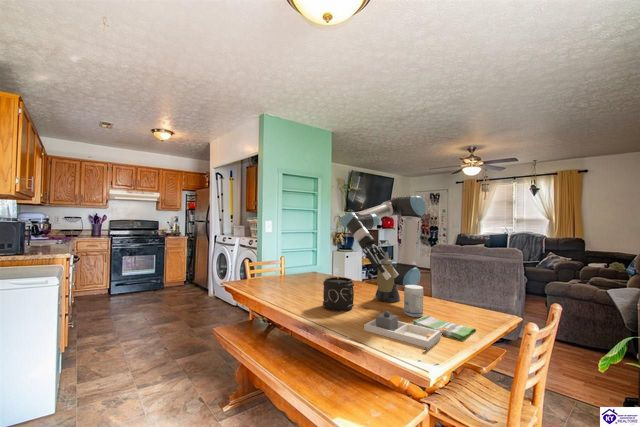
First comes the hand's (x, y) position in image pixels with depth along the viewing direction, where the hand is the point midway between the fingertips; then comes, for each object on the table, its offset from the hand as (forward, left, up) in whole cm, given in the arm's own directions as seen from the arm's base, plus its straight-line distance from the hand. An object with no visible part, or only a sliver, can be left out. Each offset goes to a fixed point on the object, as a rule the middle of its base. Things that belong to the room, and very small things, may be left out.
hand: (392, 277), depth 137 cm
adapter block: (+6, 0, -22) cm, 23 cm away
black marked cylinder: (-10, -38, -23) cm, 46 cm away
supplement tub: (-26, -1, -23) cm, 35 cm away
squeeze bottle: (0, -4, -7) cm, 8 cm away
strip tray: (+6, +7, -23) cm, 25 cm away
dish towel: (-15, +18, -24) cm, 33 cm away
